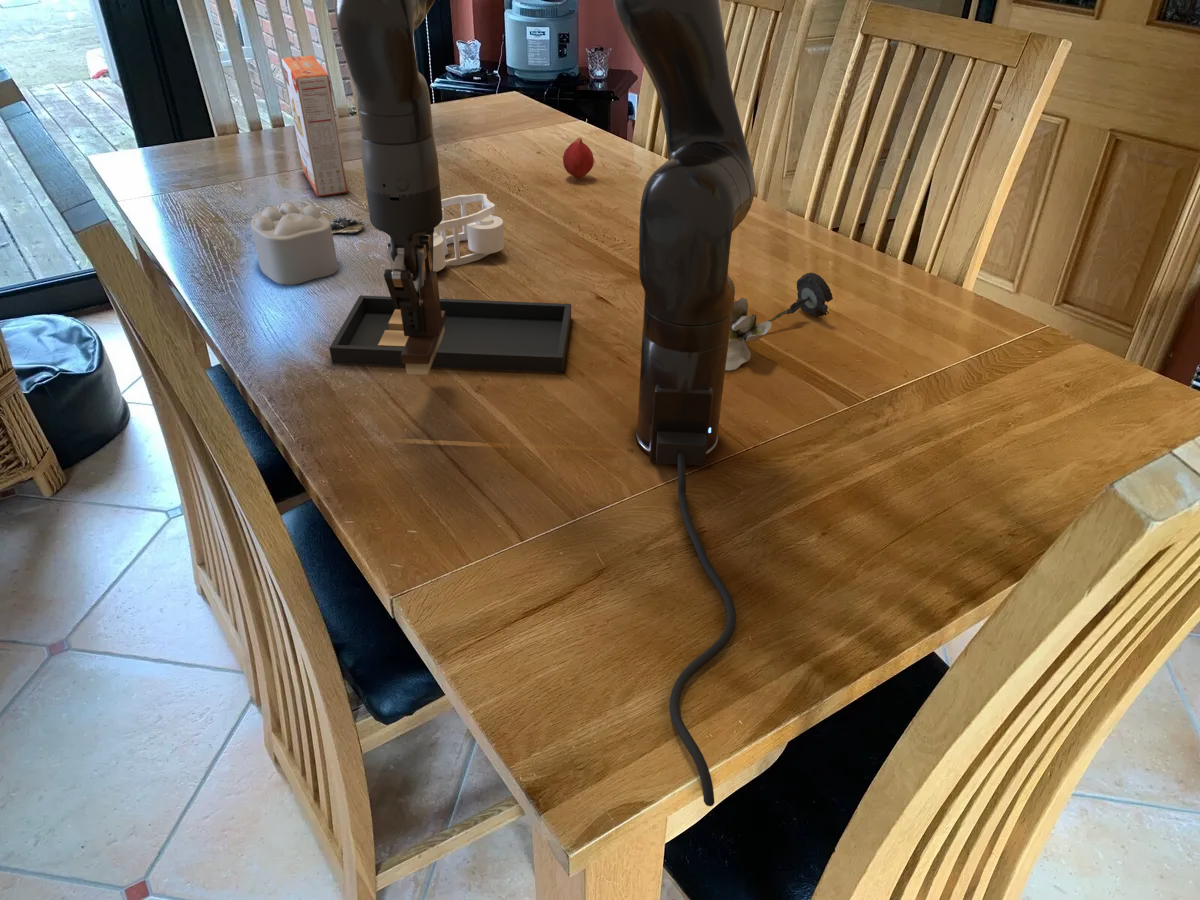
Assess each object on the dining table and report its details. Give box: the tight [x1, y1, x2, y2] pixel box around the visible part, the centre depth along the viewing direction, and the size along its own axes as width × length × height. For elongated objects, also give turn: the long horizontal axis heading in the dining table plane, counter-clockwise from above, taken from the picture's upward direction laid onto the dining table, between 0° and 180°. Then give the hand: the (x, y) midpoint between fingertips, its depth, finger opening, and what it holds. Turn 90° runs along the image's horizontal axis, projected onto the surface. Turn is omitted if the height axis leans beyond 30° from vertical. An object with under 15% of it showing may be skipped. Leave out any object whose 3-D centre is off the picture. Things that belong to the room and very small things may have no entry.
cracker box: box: [281, 54, 349, 198], centre depth 160 cm, size 14×6×21 cm, turn 25°
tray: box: [328, 294, 572, 374], centre depth 119 cm, size 15×30×3 cm, turn 87°
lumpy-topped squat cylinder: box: [250, 202, 339, 286], centre depth 136 cm, size 10×13×9 cm
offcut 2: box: [378, 330, 409, 348], centre depth 117 cm, size 4×4×2 cm
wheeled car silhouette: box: [388, 193, 505, 273], centre depth 139 cm, size 20×11×7 cm, turn 132°
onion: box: [562, 137, 595, 181], centre depth 169 cm, size 6×6×8 cm
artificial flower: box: [725, 272, 834, 372], centre depth 120 cm, size 9×22×10 cm, turn 127°
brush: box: [400, 271, 446, 376], centre depth 101 cm, size 10×4×10 cm, turn 177°
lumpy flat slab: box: [330, 216, 366, 234], centre depth 149 cm, size 7×8×2 cm
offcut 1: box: [388, 309, 404, 331], centre depth 121 cm, size 4×4×2 cm
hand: (418, 326), depth 102 cm, fingers closed on brush, 2 cm apart
